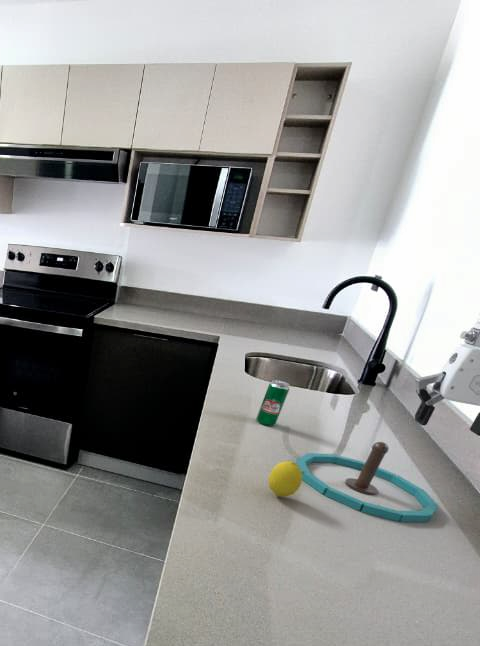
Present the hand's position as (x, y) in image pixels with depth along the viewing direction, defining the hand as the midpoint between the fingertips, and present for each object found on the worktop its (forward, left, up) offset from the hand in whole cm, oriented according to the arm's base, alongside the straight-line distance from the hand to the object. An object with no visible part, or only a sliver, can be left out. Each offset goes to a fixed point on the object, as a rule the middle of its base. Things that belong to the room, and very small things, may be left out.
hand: (447, 428), depth 98 cm
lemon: (+27, +13, -18) cm, 35 cm away
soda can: (+24, -33, -18) cm, 44 cm away
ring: (+8, -3, -18) cm, 19 cm away
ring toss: (+8, -3, -18) cm, 19 cm away
